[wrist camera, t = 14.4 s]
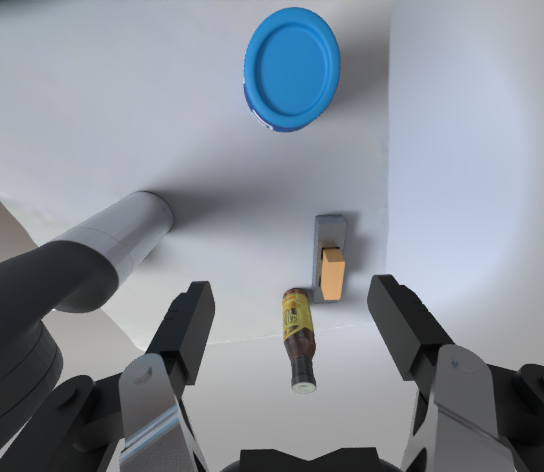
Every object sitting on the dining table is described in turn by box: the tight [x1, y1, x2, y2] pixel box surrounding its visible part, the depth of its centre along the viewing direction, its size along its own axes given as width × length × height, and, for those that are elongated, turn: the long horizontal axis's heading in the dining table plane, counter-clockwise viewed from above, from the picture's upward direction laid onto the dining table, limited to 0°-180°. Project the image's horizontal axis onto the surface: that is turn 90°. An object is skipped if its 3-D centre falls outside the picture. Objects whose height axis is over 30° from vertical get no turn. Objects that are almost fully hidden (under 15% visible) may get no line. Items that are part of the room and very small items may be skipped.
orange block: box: [320, 247, 345, 300], centre depth 43 cm, size 3×9×7 cm, turn 3°
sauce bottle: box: [282, 289, 316, 394], centre depth 44 cm, size 6×6×20 cm
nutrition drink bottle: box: [243, 7, 340, 132], centre depth 23 cm, size 8×8×20 cm
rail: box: [312, 215, 347, 304], centre depth 45 cm, size 5×20×4 cm, turn 3°
